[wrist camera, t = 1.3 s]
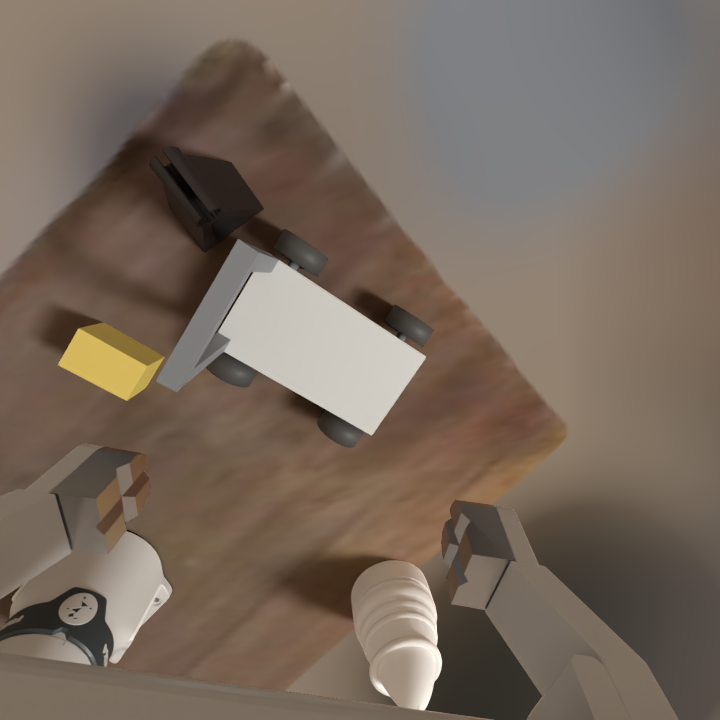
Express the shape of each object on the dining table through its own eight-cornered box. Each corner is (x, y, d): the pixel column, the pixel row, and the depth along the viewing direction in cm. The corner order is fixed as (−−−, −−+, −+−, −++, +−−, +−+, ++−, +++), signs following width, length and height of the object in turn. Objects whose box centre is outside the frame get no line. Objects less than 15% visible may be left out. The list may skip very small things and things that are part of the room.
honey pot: (378, 636, 61) (403, 780, 44) (335, 589, 58) (344, 725, 40) (440, 595, 61) (491, 724, 43) (400, 546, 57) (438, 664, 40)
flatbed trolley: (425, 326, 49) (501, 363, 29) (352, 433, 52) (376, 535, 32) (286, 231, 44) (262, 197, 24) (212, 355, 47) (134, 416, 27)
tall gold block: (146, 387, 47) (126, 400, 42) (85, 355, 45) (57, 364, 40) (165, 356, 46) (147, 366, 41) (104, 322, 44) (78, 328, 40)
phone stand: (204, 252, 44) (164, 244, 32) (170, 208, 42) (116, 183, 31) (264, 209, 43) (245, 185, 32) (232, 163, 42) (200, 121, 30)
